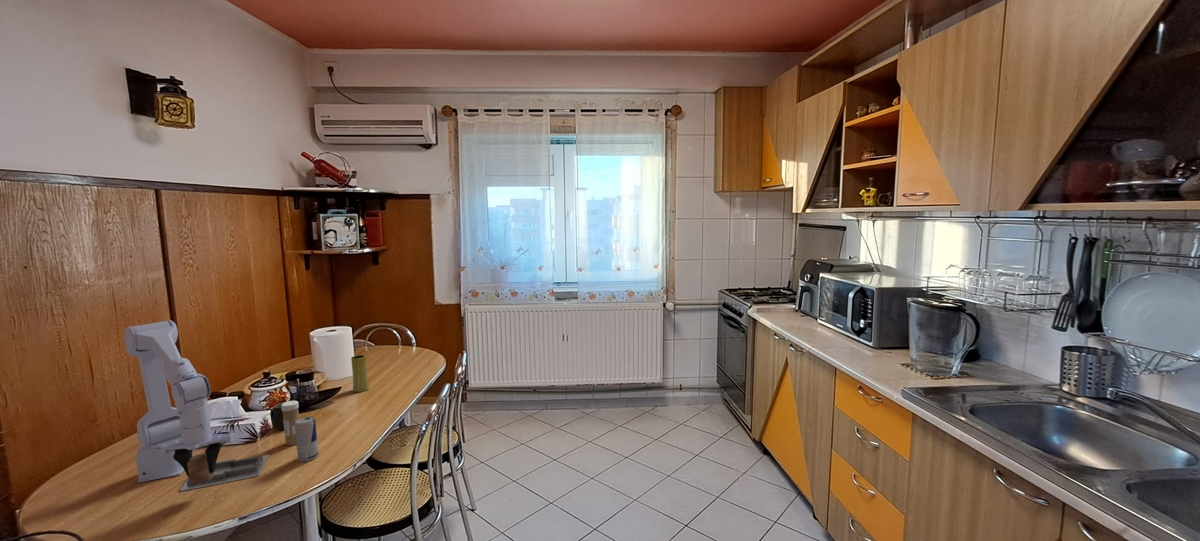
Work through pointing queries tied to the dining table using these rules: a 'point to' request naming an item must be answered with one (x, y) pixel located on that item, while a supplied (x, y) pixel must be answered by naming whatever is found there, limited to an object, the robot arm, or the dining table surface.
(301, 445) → the energy drink
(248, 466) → the keyhole plate
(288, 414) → the sprinkles bottle
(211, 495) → the dining table surface
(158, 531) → the dining table surface
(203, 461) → the walnut peg
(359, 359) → the vase
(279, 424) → the mate gourd
